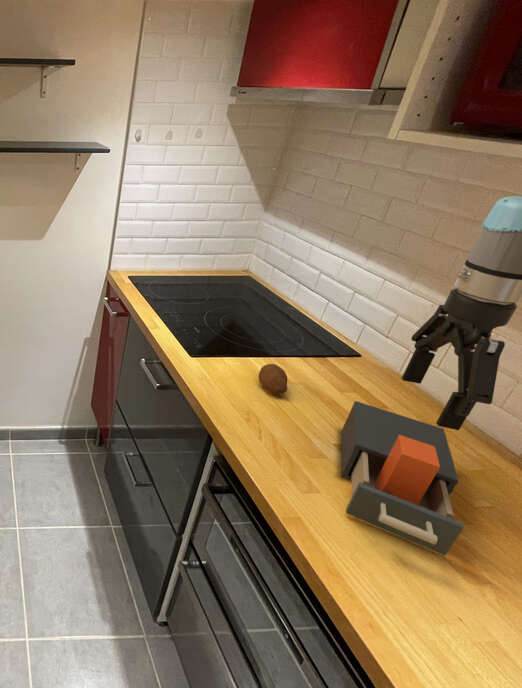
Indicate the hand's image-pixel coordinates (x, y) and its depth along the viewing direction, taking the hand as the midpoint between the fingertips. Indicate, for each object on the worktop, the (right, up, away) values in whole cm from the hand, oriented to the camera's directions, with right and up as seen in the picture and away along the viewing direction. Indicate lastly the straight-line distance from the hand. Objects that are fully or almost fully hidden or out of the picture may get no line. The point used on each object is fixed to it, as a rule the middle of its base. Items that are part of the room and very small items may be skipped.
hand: (427, 402), depth 80 cm
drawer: (-4, -21, +3) cm, 22 cm away
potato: (-4, -6, +39) cm, 39 cm away
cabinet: (+4, -17, +14) cm, 23 cm away
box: (-2, -19, +4) cm, 20 cm away
